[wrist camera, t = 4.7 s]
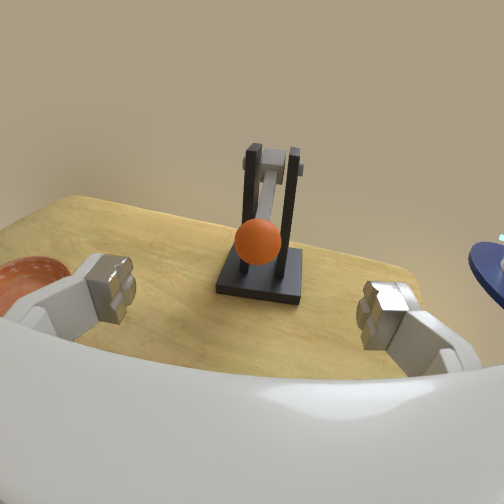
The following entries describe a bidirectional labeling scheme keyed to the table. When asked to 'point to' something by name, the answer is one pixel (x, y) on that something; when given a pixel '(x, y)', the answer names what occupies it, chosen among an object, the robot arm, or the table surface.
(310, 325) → the table surface
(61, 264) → the saucer
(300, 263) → the switch base
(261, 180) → the lever
